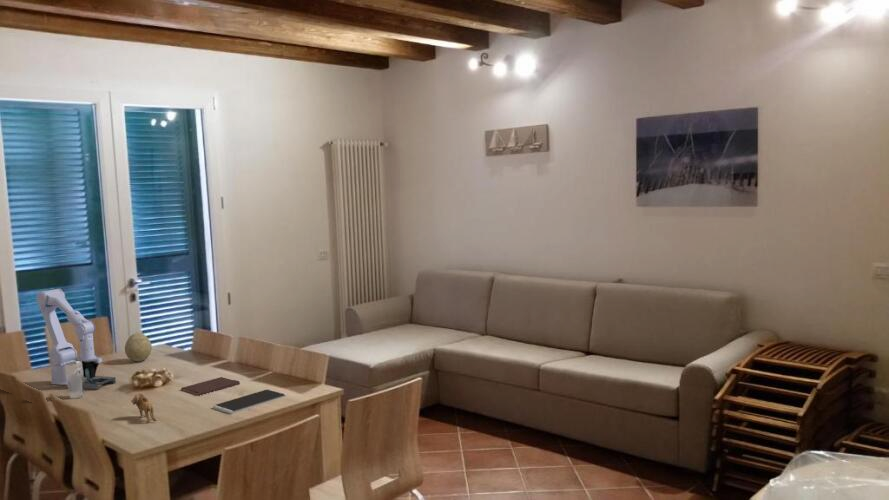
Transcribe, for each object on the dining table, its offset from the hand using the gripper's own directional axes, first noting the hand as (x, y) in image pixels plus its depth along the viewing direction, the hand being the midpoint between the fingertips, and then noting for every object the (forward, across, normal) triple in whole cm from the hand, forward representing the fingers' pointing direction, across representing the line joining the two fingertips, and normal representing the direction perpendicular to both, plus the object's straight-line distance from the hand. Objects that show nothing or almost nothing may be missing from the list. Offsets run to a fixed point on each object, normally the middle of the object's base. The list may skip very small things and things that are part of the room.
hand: (89, 377), depth 308 cm
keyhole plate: (+4, -3, 0) cm, 5 cm away
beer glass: (+4, -8, +15) cm, 18 cm away
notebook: (+4, -59, -10) cm, 60 cm away
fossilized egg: (+4, +10, -41) cm, 43 cm away
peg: (+3, 0, 0) cm, 3 cm away
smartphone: (+4, -89, +4) cm, 90 cm away
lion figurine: (+4, -61, +31) cm, 68 cm away
